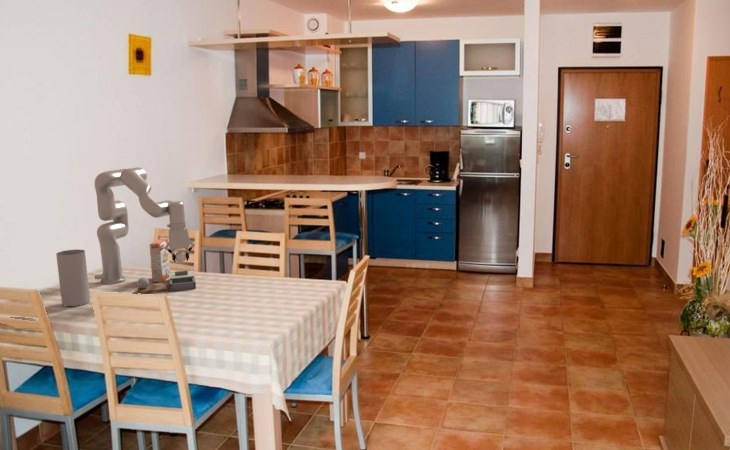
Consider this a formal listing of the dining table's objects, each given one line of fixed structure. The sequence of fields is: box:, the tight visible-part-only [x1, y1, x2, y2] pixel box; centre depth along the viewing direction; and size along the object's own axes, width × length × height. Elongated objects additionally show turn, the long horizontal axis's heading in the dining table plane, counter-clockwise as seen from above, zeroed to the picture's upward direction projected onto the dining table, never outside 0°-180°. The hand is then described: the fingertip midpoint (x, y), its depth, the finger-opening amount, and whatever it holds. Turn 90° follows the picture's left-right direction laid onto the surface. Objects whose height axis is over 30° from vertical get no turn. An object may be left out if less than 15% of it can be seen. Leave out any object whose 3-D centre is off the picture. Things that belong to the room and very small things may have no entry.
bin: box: [168, 276, 197, 292], centre depth 357 cm, size 12×25×4 cm, turn 17°
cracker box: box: [149, 238, 171, 283], centre depth 367 cm, size 14×6×21 cm, turn 179°
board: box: [136, 283, 168, 295], centre depth 347 cm, size 14×10×2 cm
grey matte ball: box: [137, 277, 150, 289], centre depth 345 cm, size 6×6×6 cm
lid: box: [168, 270, 195, 279], centre depth 360 cm, size 12×12×3 cm
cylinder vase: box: [55, 249, 91, 307], centre depth 326 cm, size 12×12×25 cm
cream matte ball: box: [174, 250, 187, 263], centre depth 348 cm, size 6×6×6 cm
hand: (181, 260), depth 349 cm, fingers closed on cream matte ball, 5 cm apart
